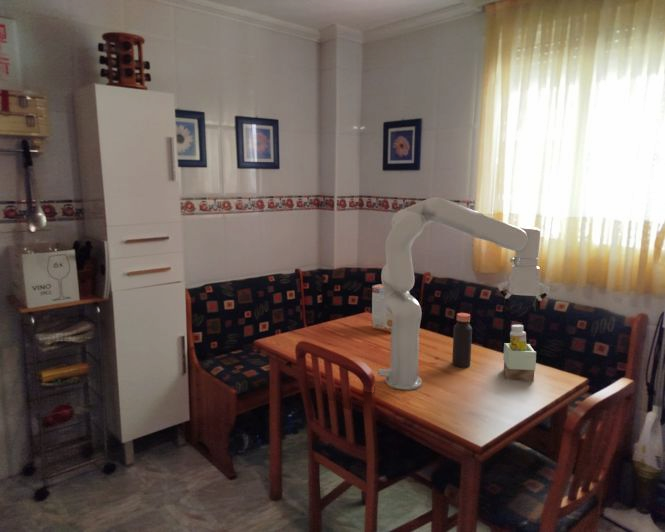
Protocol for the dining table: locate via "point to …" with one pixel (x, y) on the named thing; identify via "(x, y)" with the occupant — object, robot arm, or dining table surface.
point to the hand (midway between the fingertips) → (521, 309)
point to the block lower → (518, 374)
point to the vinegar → (462, 341)
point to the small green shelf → (519, 358)
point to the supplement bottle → (518, 338)
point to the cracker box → (380, 310)
